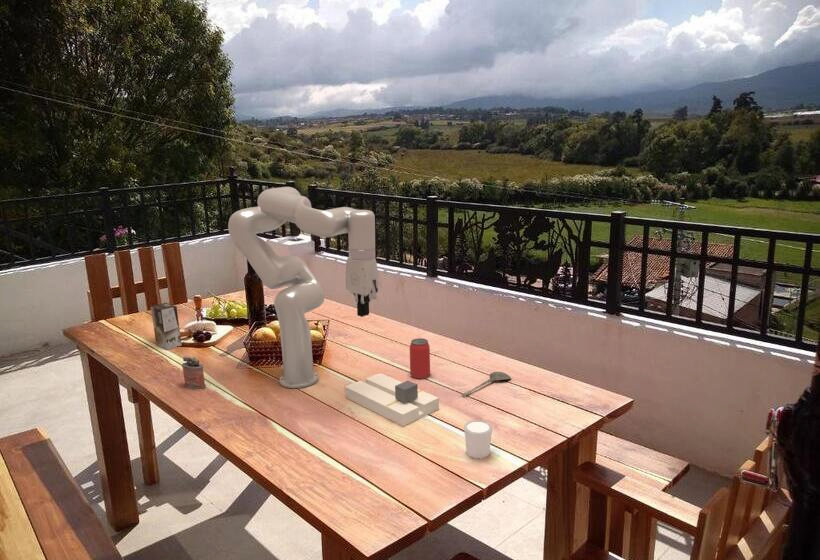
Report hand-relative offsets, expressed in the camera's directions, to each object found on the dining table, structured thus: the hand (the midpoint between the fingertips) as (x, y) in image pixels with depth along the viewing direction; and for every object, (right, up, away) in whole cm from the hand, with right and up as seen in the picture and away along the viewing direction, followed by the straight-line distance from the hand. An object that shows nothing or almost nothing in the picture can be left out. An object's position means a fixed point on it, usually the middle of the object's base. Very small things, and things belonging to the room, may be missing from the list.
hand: (363, 315), depth 165 cm
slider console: (+8, -26, +2) cm, 27 cm away
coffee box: (-81, -16, +56) cm, 100 cm away
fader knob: (+13, -26, -3) cm, 29 cm away
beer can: (+17, -21, +21) cm, 35 cm away
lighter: (-56, -24, +17) cm, 63 cm away
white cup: (+31, -33, -25) cm, 51 cm away
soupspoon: (+38, -24, +12) cm, 46 cm away
